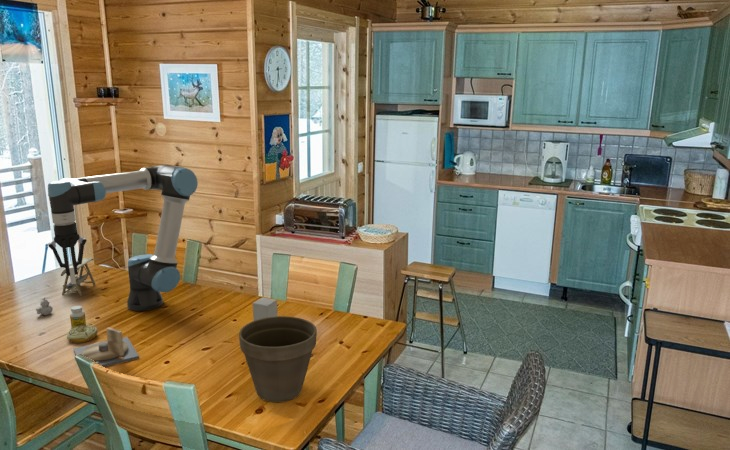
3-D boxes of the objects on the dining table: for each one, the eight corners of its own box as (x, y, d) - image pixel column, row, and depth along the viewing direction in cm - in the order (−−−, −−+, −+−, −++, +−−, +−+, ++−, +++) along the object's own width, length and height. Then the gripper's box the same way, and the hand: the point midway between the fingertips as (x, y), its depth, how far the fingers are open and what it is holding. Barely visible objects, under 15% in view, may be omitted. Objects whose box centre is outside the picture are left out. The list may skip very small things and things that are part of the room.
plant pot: (262, 367, 202) (261, 310, 197) (327, 378, 195) (327, 320, 190) (226, 403, 179) (223, 340, 173) (298, 417, 172) (298, 352, 167)
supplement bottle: (85, 325, 233) (83, 304, 231) (87, 330, 229) (85, 308, 226) (70, 328, 230) (68, 306, 228) (72, 333, 226) (70, 311, 224)
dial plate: (127, 339, 222) (127, 336, 221) (139, 358, 207) (138, 355, 206) (73, 350, 211) (73, 347, 211) (81, 372, 196) (81, 368, 196)
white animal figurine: (55, 313, 244) (53, 296, 243) (40, 318, 239) (38, 301, 237) (49, 310, 247) (47, 293, 245) (33, 315, 242) (31, 298, 240)
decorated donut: (62, 344, 217) (61, 335, 216) (74, 332, 227) (73, 323, 226) (90, 344, 218) (89, 335, 217) (101, 332, 228) (100, 323, 227)
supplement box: (278, 328, 234) (277, 299, 231) (268, 335, 228) (267, 305, 225) (263, 324, 237) (262, 296, 234) (253, 331, 231) (252, 302, 228)
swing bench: (78, 285, 279) (74, 256, 276) (97, 285, 279) (94, 257, 275) (61, 295, 265) (57, 265, 261) (81, 296, 265) (78, 266, 261)
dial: (74, 354, 206) (71, 329, 204) (110, 339, 219) (107, 315, 216) (104, 366, 198) (101, 340, 195) (140, 349, 210) (137, 324, 208)
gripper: (45, 227, 201) (55, 289, 208) (85, 222, 208) (93, 282, 215) (43, 223, 207) (53, 283, 214) (82, 218, 214) (90, 276, 221)
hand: (73, 283), depth 214 cm, fingers closed
